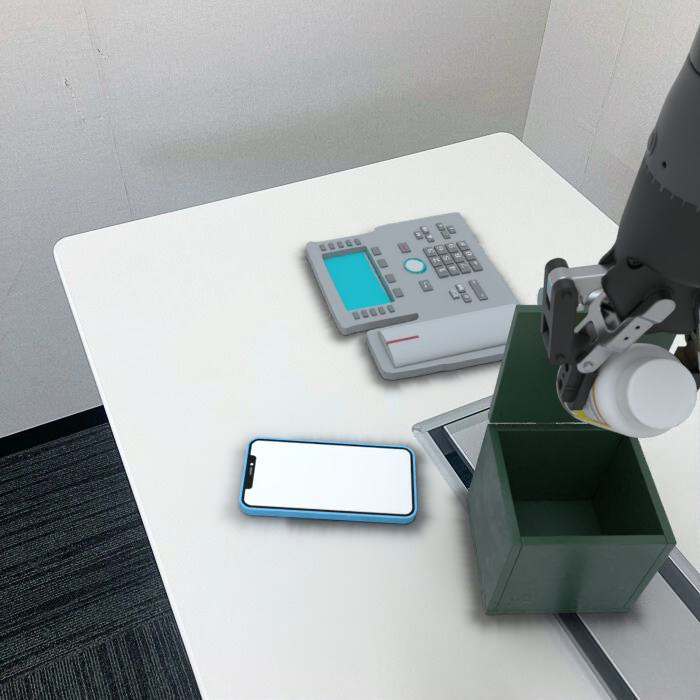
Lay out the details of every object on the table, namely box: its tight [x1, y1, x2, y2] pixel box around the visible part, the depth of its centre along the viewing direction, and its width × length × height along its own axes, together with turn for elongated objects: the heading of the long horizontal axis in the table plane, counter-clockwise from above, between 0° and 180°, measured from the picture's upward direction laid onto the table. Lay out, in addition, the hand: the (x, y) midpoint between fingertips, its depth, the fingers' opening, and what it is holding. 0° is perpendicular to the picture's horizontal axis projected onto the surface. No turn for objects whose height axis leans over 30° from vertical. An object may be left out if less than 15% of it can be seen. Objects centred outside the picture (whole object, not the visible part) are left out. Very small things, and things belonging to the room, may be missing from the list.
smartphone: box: [238, 436, 418, 524], centre depth 66 cm, size 8×1×15 cm
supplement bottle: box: [556, 343, 698, 439], centre depth 46 cm, size 6×6×10 cm
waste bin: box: [465, 423, 678, 615], centre depth 58 cm, size 10×11×11 cm
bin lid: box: [487, 287, 677, 424], centre depth 55 cm, size 11×11×5 cm
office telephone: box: [305, 211, 521, 381], centre depth 83 cm, size 23×3×20 cm
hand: (620, 399), depth 47 cm, fingers closed on supplement bottle, 5 cm apart
